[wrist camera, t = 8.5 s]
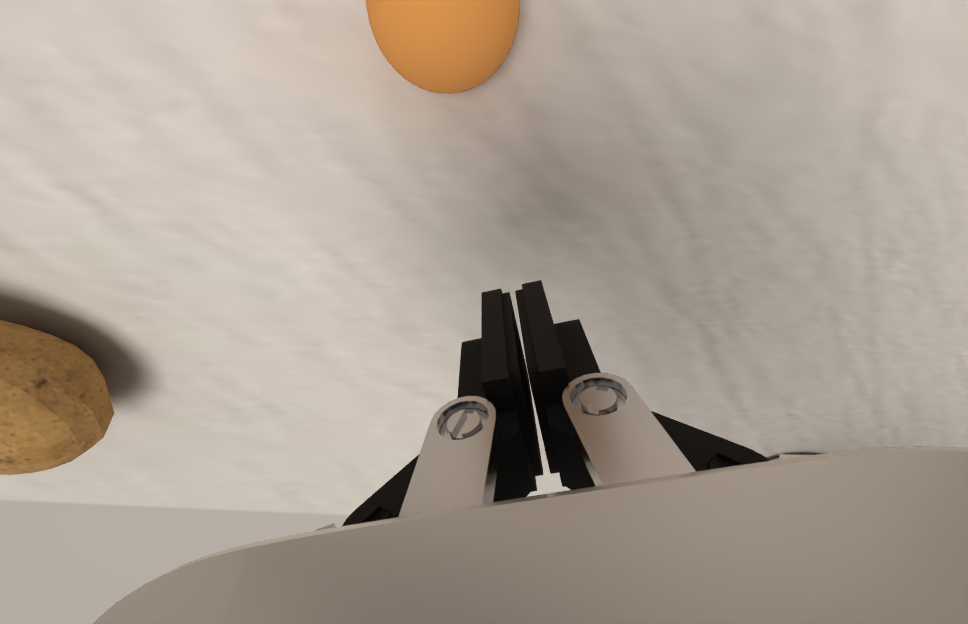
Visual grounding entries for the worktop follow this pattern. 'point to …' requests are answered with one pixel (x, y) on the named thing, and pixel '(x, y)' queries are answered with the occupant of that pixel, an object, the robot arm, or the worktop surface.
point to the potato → (47, 401)
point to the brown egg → (444, 39)
